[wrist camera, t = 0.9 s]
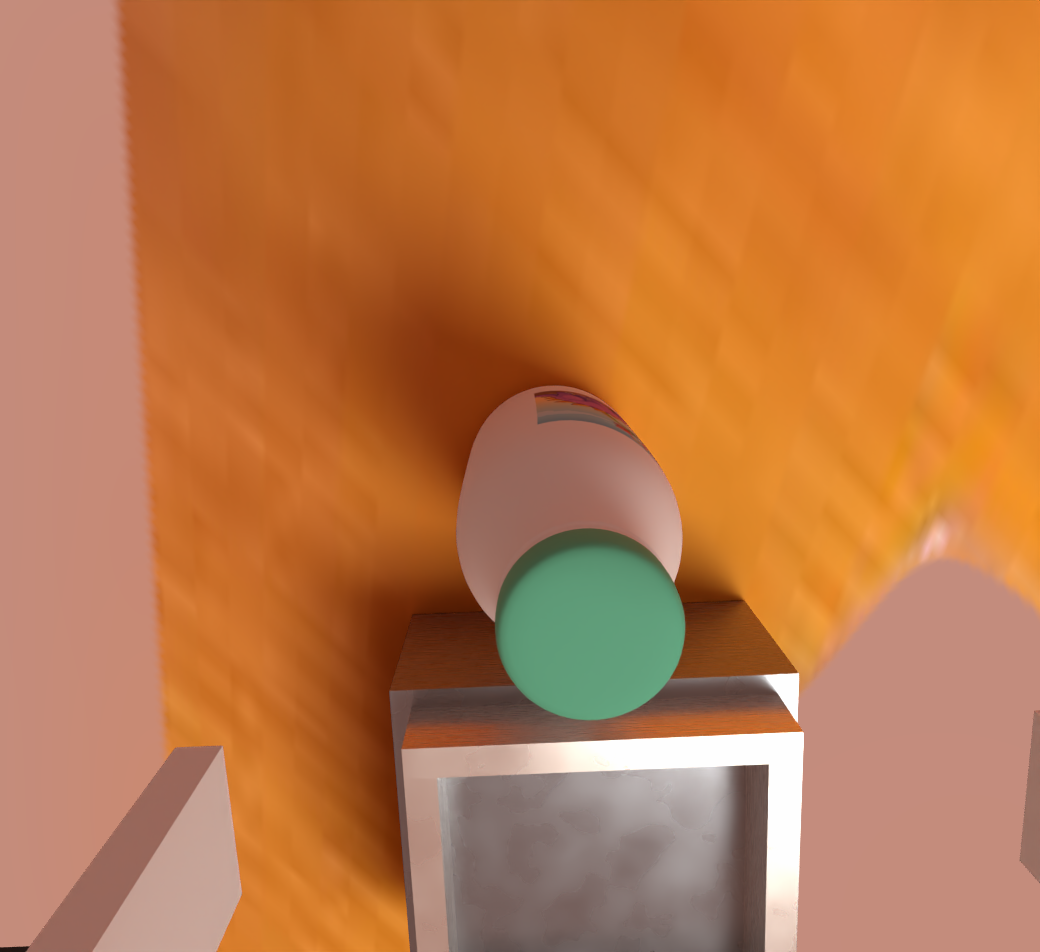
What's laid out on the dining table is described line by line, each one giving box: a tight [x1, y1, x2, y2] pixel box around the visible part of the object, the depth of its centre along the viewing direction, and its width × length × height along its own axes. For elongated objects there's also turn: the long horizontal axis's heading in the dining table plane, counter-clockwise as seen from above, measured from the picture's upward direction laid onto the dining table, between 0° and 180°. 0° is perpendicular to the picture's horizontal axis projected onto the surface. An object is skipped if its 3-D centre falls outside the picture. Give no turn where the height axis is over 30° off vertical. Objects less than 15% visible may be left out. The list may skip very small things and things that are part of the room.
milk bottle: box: [456, 385, 685, 720], centre depth 30 cm, size 8×8×20 cm
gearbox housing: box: [389, 601, 803, 952], centre depth 38 cm, size 17×16×11 cm
